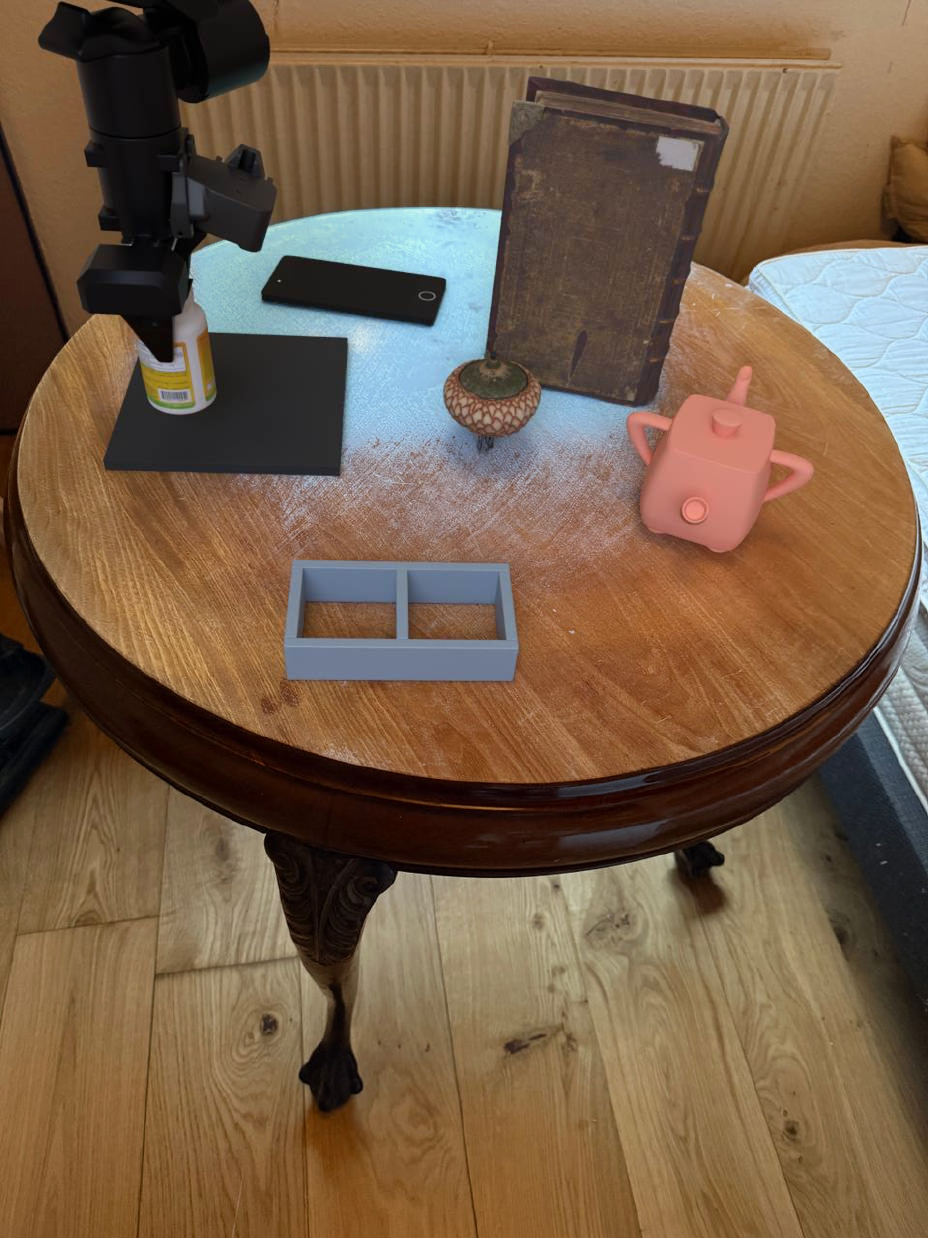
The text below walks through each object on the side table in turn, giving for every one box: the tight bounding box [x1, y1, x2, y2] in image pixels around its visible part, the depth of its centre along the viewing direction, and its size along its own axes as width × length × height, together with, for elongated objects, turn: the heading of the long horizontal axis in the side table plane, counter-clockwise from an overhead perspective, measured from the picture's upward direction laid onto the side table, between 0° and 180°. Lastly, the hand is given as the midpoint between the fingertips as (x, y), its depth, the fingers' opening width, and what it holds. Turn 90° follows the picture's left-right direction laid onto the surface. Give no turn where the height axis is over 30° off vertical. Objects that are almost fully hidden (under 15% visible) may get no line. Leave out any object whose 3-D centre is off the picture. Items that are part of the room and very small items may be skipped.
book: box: [483, 74, 730, 408], centre depth 80 cm, size 17×7×25 cm, turn 71°
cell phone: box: [260, 254, 447, 327], centre depth 97 cm, size 9×18×1 cm, turn 81°
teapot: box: [625, 365, 815, 554], centre depth 73 cm, size 14×12×10 cm
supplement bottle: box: [133, 276, 216, 415], centre depth 71 cm, size 5×5×10 cm
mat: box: [102, 331, 349, 477], centre depth 83 cm, size 19×20×1 cm
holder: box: [283, 559, 520, 682], centre depth 64 cm, size 15×8×4 cm, turn 93°
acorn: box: [442, 350, 542, 454], centre depth 77 cm, size 8×8×10 cm
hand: (172, 341), depth 70 cm, fingers closed on supplement bottle, 5 cm apart
